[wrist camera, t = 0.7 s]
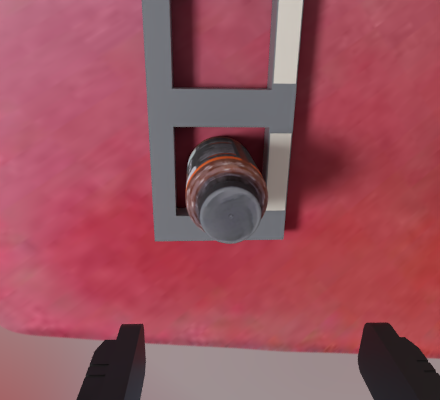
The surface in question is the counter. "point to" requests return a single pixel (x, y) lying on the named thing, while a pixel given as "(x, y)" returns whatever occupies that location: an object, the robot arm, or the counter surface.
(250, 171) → the supplement bottle
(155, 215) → the socket panel
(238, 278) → the counter surface
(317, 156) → the counter surface
